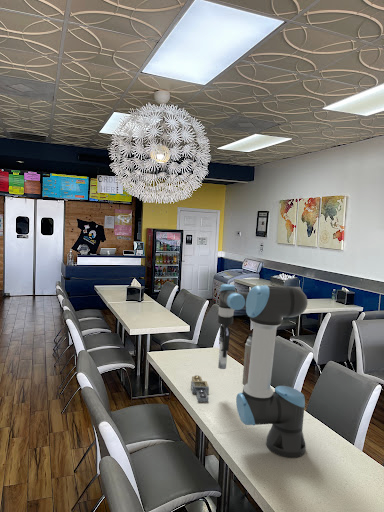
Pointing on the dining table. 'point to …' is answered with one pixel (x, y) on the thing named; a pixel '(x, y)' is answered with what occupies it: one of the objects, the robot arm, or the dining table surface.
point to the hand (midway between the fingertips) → (222, 361)
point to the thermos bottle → (247, 359)
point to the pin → (220, 365)
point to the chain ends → (200, 388)
